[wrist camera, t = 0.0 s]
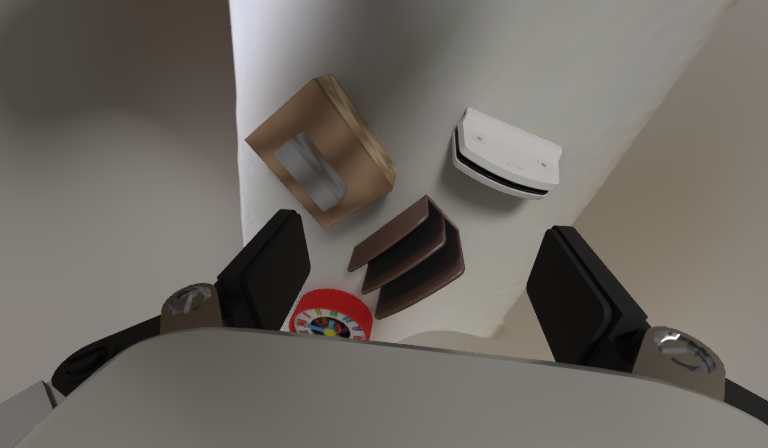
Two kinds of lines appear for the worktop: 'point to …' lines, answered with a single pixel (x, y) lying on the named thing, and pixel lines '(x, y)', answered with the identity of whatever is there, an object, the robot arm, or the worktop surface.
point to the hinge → (505, 156)
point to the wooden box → (358, 126)
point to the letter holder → (410, 257)
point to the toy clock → (331, 315)
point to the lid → (319, 156)
